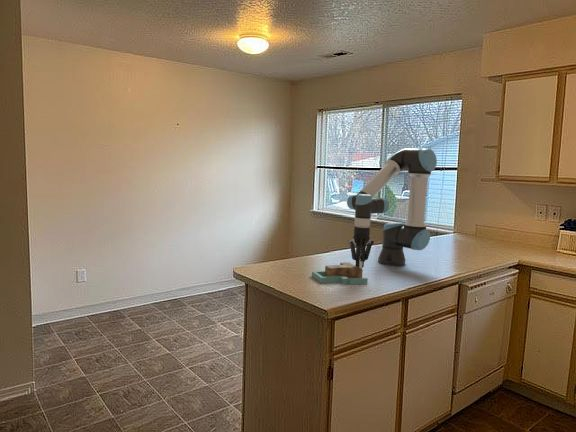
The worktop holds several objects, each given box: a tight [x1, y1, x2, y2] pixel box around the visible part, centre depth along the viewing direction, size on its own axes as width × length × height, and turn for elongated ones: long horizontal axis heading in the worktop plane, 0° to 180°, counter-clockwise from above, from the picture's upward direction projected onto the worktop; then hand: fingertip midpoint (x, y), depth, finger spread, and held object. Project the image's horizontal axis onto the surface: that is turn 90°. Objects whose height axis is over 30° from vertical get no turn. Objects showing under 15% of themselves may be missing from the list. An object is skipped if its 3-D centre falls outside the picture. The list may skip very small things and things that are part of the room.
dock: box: [311, 270, 368, 285], centre depth 207 cm, size 22×21×2 cm
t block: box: [324, 261, 364, 278], centre depth 207 cm, size 15×14×6 cm
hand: (359, 274), depth 210 cm, fingers closed
